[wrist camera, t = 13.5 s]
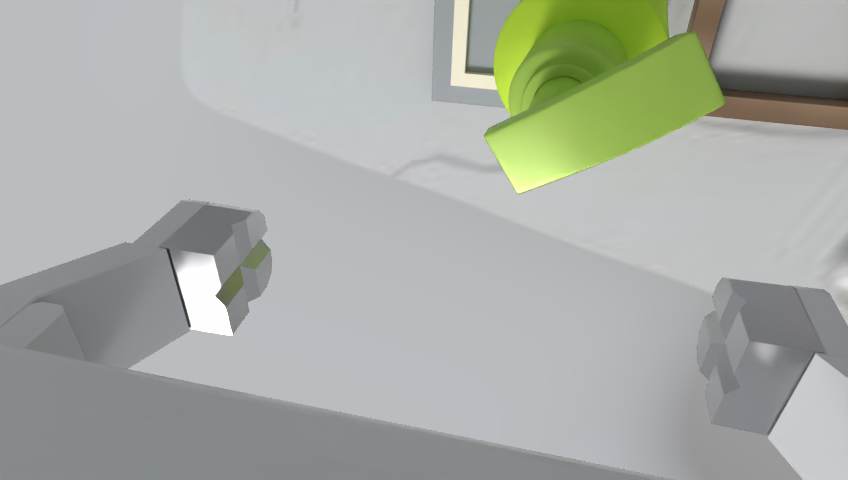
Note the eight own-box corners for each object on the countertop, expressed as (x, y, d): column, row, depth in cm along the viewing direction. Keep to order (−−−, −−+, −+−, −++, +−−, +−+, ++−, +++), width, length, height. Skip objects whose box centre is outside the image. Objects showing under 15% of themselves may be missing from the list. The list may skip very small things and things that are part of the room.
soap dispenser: (705, 6, 29) (761, 186, 13) (577, 71, 33) (501, 272, 17) (658, -108, 27) (658, -57, 12) (528, -26, 31) (392, 98, 15)
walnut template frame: (728, -127, 28) (734, -126, 27) (978, -119, 26) (993, -118, 25) (667, 104, 34) (669, 112, 33) (864, 123, 32) (873, 132, 31)
